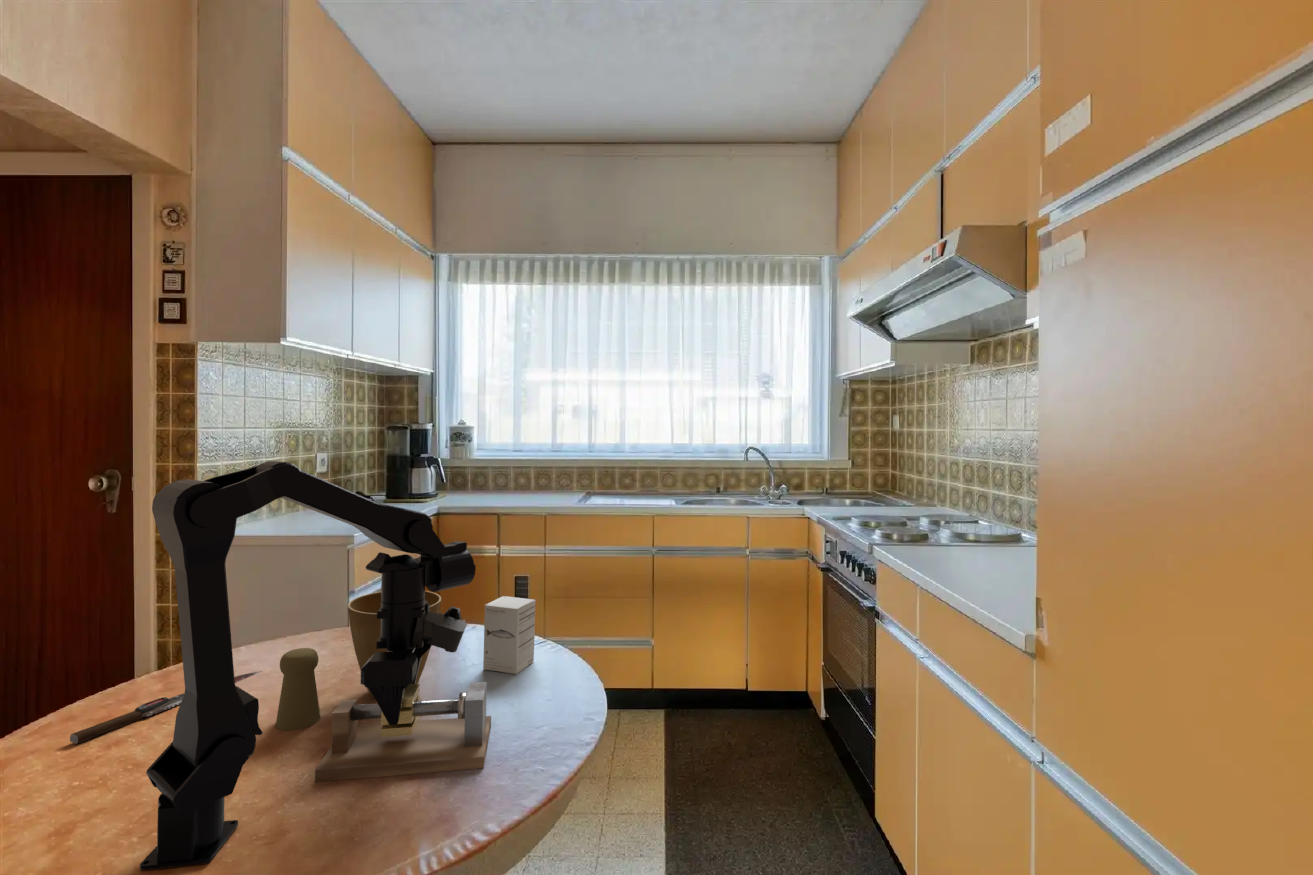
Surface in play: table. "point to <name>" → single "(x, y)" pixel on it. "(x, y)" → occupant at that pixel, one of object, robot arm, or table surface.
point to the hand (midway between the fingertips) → (401, 708)
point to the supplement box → (509, 634)
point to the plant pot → (376, 626)
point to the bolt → (444, 711)
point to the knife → (135, 715)
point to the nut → (403, 715)
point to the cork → (298, 690)
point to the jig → (397, 748)
